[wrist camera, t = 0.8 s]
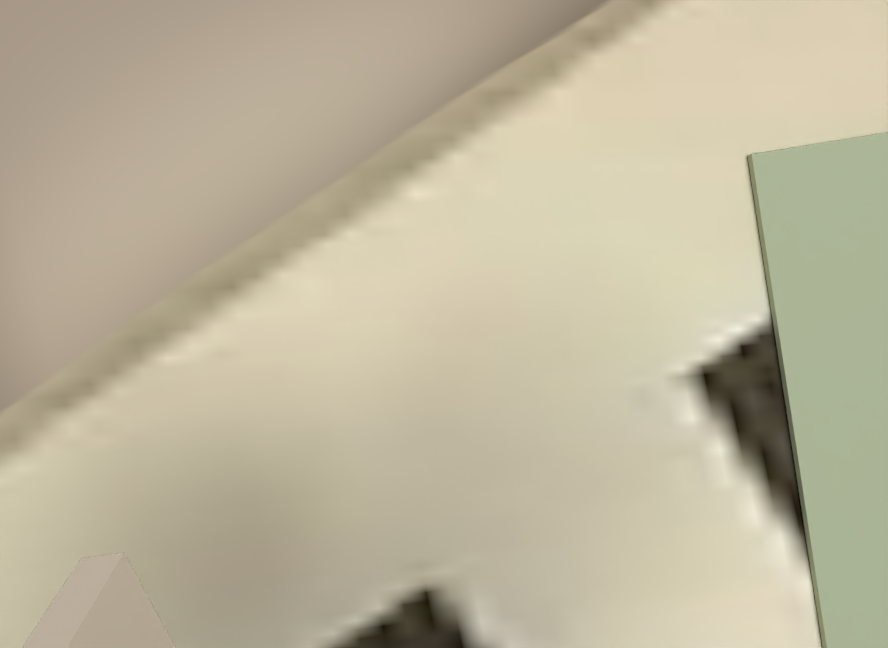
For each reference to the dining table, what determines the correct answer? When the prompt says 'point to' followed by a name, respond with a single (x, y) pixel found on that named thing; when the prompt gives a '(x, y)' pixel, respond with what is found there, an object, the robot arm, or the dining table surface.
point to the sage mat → (834, 364)
